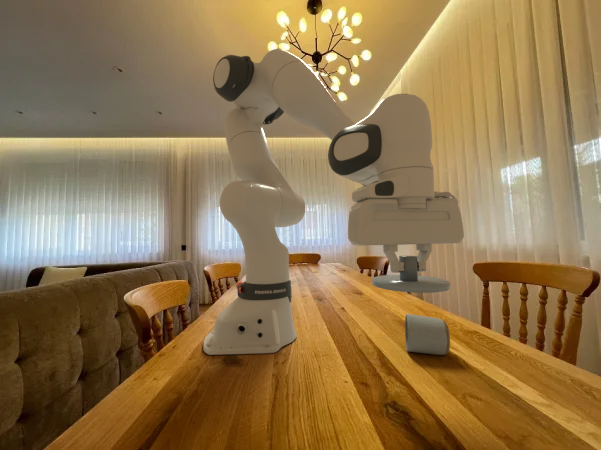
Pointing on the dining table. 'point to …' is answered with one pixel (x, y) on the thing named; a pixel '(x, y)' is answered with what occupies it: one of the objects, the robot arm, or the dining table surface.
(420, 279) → the lid
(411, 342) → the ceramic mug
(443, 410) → the dining table surface
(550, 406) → the dining table surface
